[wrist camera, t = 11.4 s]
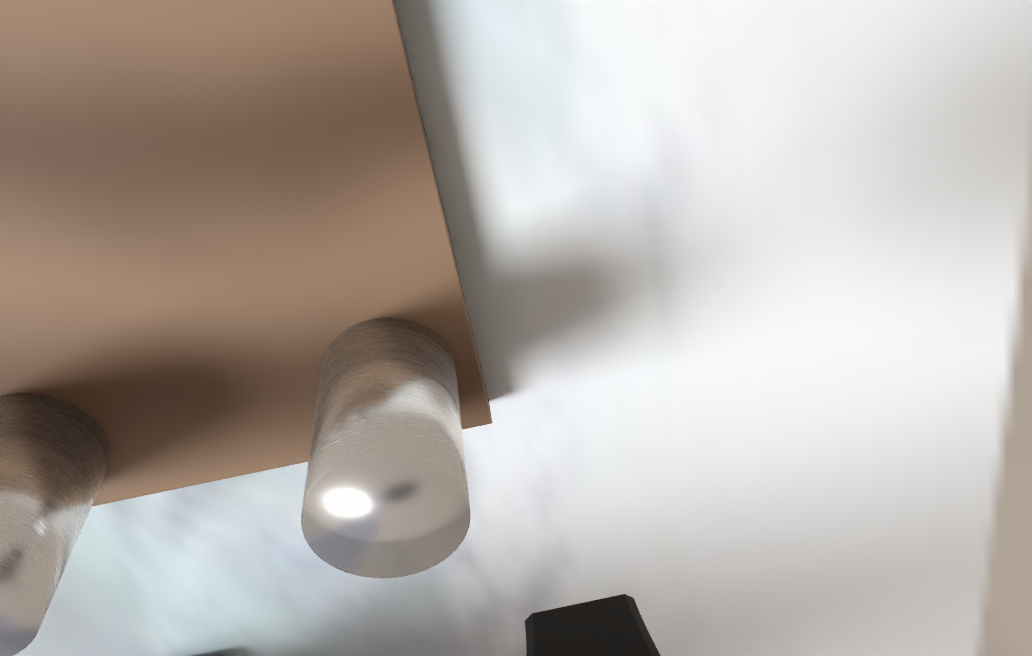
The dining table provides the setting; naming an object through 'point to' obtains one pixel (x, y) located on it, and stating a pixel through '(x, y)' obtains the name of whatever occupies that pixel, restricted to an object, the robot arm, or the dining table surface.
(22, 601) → the steel spacers
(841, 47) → the dining table surface
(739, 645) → the dining table surface
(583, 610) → the robot arm
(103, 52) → the spacer board
